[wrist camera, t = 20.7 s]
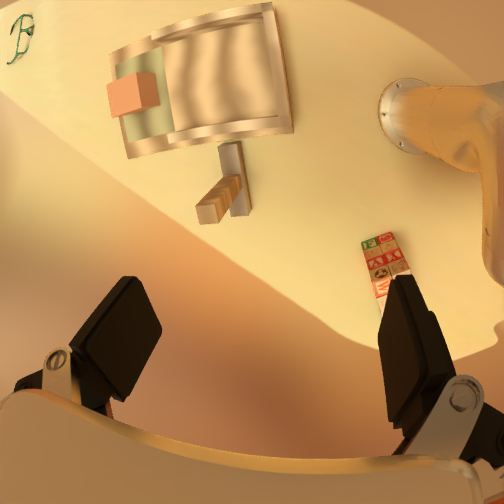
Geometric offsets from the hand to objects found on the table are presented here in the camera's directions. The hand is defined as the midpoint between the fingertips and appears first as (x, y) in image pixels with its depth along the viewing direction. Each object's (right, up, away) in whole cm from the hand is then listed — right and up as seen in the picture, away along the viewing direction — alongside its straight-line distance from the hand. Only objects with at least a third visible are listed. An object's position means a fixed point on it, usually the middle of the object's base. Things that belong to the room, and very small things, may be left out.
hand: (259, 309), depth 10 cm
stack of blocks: (+27, -3, +40) cm, 48 cm away
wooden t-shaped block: (-3, +15, +35) cm, 38 cm away
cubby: (-10, +30, +27) cm, 41 cm away
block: (-19, +29, +28) cm, 45 cm away
